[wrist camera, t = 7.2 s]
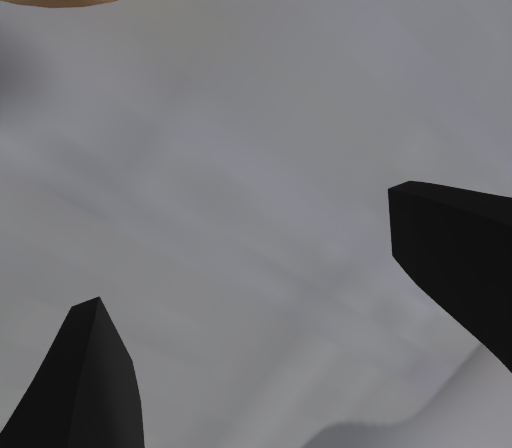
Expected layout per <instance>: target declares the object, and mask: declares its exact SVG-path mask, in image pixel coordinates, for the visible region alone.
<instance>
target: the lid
mask: <svg viewBox="0 0 512 448" xmlns="http://www.w3.org/2000/svg"><path fill="white" fill-rule="evenodd" d="M1 1H5V2H10V3H14V4H20V5H29V6H38V7H48V8H64V7H86V6H91V5H97V4H103V3H109V2H114V1H117V0H1Z"/></svg>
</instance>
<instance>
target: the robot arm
mask: <svg viewBox="0 0 512 448" xmlns="http://www.w3.org/2000/svg"><path fill="white" fill-rule="evenodd" d="M388 199H389V213H390V228H391V242H392V256H393V257H394V258H395V260H396V261H397V262H398V263H399V265H400V266H401V267H402V268H403V269H404V271H405V272H406V273H407V274H408V275H409V277H410V278H411V279H412V280H413V281H414V282H415V283H416V284H417V285H418V286H419V287H420V288H421V289H422V290H423V291H424V292H425V293H426V294H427V295H428V296H430V297H431V298H432V299H433V300H434V301H435V302H436V303H437V304H438V305H440V306H441V307H442V308H443V309H444V310H445V311H446V312H447V313H449V314H450V315H451V316H452V317H453V318H454V319H455V320H457V321H458V322H459V323H460V324H461V325H462V326H463V327H464V328H466V329H467V330H468V331H469V332H470V333H471V334H472V335H473V336H475V337H476V338H477V339H478V340H479V341H480V342H481V343H483V344H484V345H485V346H486V347H487V348H488V349H489V350H490V351H491V352H492V353H493V354H494V355H495V356H496V357H497V358H499V360H500V361H501V362H502V363H503V364H504V365H505V366H506V367H507V368H508V369H509V371H510V372H511V373H512V198H510V197H504V196H498V195H493V194H487V193H482V192H476V191H471V190H466V189H460V188H455V187H449V186H444V185H438V184H432V183H425V182H417V181H408V182H405V183H402V184H400V185H397V186H394V187H392V188H389V189H388ZM0 448H145V446H144V433H143V421H142V409H141V400H140V395H139V390H138V385H137V380H136V375H135V371H134V366H133V362H132V359H131V357H130V355H129V353H128V351H127V349H126V347H125V346H124V344H123V342H122V340H121V338H120V336H119V334H118V332H117V330H116V328H115V326H114V324H113V322H112V320H111V318H110V316H109V314H108V312H107V310H106V308H105V306H104V304H103V302H102V300H101V298H100V296H99V297H96V298H94V299H91V300H88V301H86V302H83V303H80V304H78V305H75V306H72V307H71V309H70V311H69V313H68V315H67V316H66V318H65V320H64V322H63V324H62V326H61V328H60V330H59V332H58V334H57V336H56V338H55V340H54V342H53V343H52V345H51V347H50V349H49V351H48V353H47V355H46V357H45V359H44V361H43V362H42V364H41V366H40V368H39V370H38V372H37V374H36V375H35V377H34V379H33V381H32V383H31V384H30V386H29V388H28V389H27V391H26V393H25V394H24V396H23V398H22V399H21V401H20V403H19V404H18V406H17V407H16V409H15V411H14V412H13V414H12V416H11V417H10V419H9V421H8V422H7V424H6V425H5V427H4V428H3V430H2V432H1V433H0Z"/></svg>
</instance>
